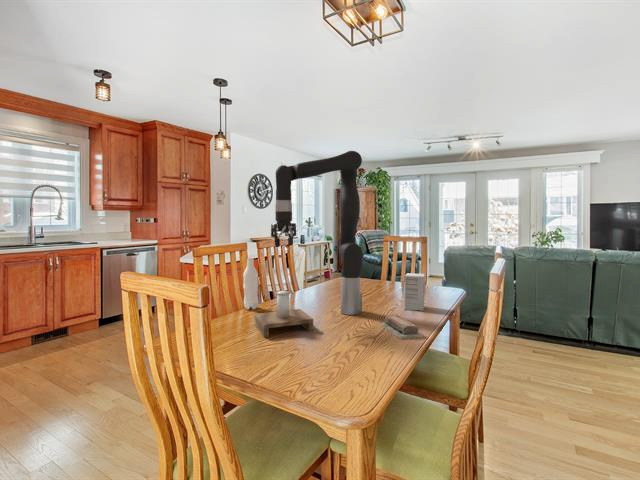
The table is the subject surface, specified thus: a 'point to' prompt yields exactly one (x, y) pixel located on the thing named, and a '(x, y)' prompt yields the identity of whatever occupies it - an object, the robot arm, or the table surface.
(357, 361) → the table surface
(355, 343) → the table surface
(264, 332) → the shelf riser
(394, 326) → the packaged product
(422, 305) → the supplement box
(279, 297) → the tumbler
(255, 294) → the water bottle
